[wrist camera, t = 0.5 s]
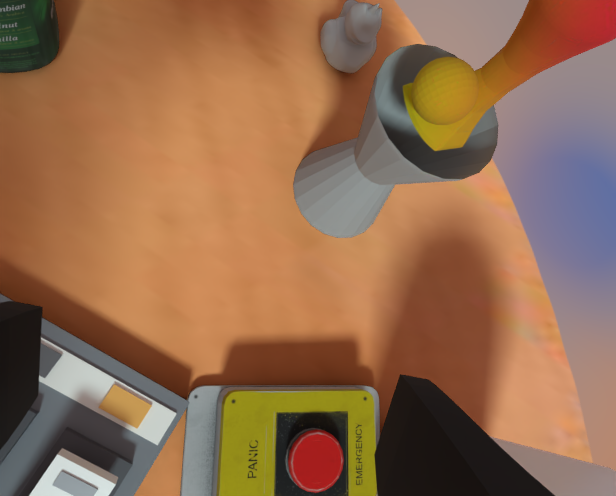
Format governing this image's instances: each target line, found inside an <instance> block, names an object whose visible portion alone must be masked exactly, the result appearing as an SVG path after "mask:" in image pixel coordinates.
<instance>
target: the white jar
mask: <svg viewBox="0 0 616 496" xmlns="http://www.w3.org/2000/svg"><path fill="white" fill-rule="evenodd" d="M491 438H492V439H493V440H494V441H495V442H496V443H497V444H498V445H499V446H500V447H501V448H502V449H503V450H504V451H505V452H507V453H508V454H509V455H510V456H511V457H512V458H513V459H514V460H515V461H516V462H517V463H519V464H520V465H521V466H522V467H523V468H524V469H525V470H526V471H527V472H529V473H530V474H531V475H532V476H533V477H534V478H535V479H537V480H538V481H539V482H540V483H541V484H542V485H543V486H545V487H546V488H547V489H548V490H549V491H550V492H552V493H553V494H554V495H555V496H616V471H614V470H612V469H611V468H608V467H604V466H600V465H596V464H593V463H589V462H585V461H581V460H577V459H574V458H570V457H566V456H562V455H558V454H554V453H551V452H547V451H543V450H539V449H535V448H532V447H528V446H524V445H520V444H516V443H513V442H509V441H505V440H501V439H497V438H494V437H491ZM376 496H378V493H377V494H376Z"/></svg>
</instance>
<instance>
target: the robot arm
mask: <svg viewBox="0 0 616 496" xmlns="http://www.w3.org/2000/svg"><path fill="white" fill-rule="evenodd" d="M41 326H42V307H40V306H35V305H30V304H24V303H19V302H14V301H7V302H1V303H0V450H1V448H2V447H3V446H4V445H5V444H6V442H7V441H8V440H9V438H10V437H11V435H12V434H13V433H14V431H15V430H16V428H17V427H18V425H19V424H20V423H21V421H22V420H23V418H24V417H25V415H26V414H27V412H28V411H29V409H30V408H31V406H32V404H33V403H34V401H35V400H36V398H37V397H38V391H39V369H40V348H41ZM374 456H375V470H376V483H377V493H378V496H555V495H554V494H553V493H552V492H550V491H549V490H548V489H547V488H546V487H545V486H543V485H542V484H541V483H540V482H539V481H538V480H537V479H535V478H534V477H533V476H532V475H531V474H530V473H529V472H527V471H526V470H525V469H524V468H523V467H522V466H521V465H520V464H519V463H517V462H516V461H515V460H514V459H513V458H512V457H511V456H510V455H509V454H508V453H507V452H505V451H504V450H503V449H502V448H501V447H500V446H499V445H498V444H497V443H496V442H495V441H494V440H493V439H492V438H491V437H490V436H489V435H487V434H486V433H485V432H484V431H483V430H482V429H481V428H480V427H479V426H478V425H477V424H476V423H475V422H474V421H473V420H472V419H471V418H470V417H469V416H468V415H467V414H466V413H465V412H464V411H463V410H462V409H461V408H460V407H459V406H457V405H456V404H455V403H454V402H453V401H452V400H451V399H450V398H449V397H448V396H447V395H446V394H445V393H444V392H443V391H442V390H440V389H439V388H438V387H437V386H436V385H435V384H433V383H432V382H431V381H430V380H427V379H422V378H417V377H411V376H406V375H401V374H400V377H399V380H398V383H397V386H396V389H395V392H394V395H393V398H392V401H391V404H390V408H389V411H388V414H387V417H386V420H385V423H384V426H383V429H382V432H381V435H380V438H379V441H378V444H377V448H376V451H375V454H374Z"/></svg>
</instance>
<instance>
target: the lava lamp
mask: <svg viewBox="0 0 616 496" xmlns="http://www.w3.org/2000/svg"><path fill="white" fill-rule="evenodd" d="M615 38H616V0H529V2H528V4H527V7H526V9H525V11H524V14H523V16H522V18H521V19H520V21H519V23H518V25H517V27H516V29H515V31H514V32H513V34H512V36H511V37H510V39H509V41H508V42H507V44H506V45H505V47H503V48H502V49H501V50H500V51H499V52H498V53H497V54H496V55H495V56H494V57H493V58H492V59H490V60H489V61H488V62H487V63H486V64H485V65H484V66H483V67H482V68H480V69H478V70H476V71H474V70H473V68H471V66H470V65H469V64H467V63H466V62H465V61H463V60H461V59H459V58H457V57H456V56H455V55H453V54H451V53H449V52H446V51H444V50H442V49H440V48H438V47H435V46H428V45H421V44H415V45H410V46H406V47H401V48H399V49H398V50H396V51H395V52H394V53H392V54H391V55H389V56H388V57H387V58H386V59H385V61H384V63H383V65H382V66H381V68H380V70H379V72H378V73H377V75H376V77H375V79H374V83H373V86H372V90H371V93H370V97H369V100H368V104H367V107H366V111H365V114H364V118H363V121H362V125H361V128H360V132H359V135H358V138H355V139H352V140H348V141H345V142H342V143H339V144H336V145H333V146H329V147H326V148H323V149H320V150H317V151H314V152H312V153H311V154H309V155H308V156H307V157H306V158H304V159H303V160H302V162H301V163H300V165H299V167H298V168H297V170H296V174H295V179H294V184H293V186H294V194H295V200H296V202H297V205H298V207H299V209H300V211H301V214H302V215H303V216H304V217H305V218H306V219H307V221H308V222H309V223H310V224H311V225H312V226H313V227H315V228H316V229H318V230H319V231H321V232H322V233H324V234H327V235H330V236H334V237H337V238H346V237H353V236H356V235H358V234H361V233H363V232H364V231H365V230H367V229H368V228H369V227H370V226H371V225H372V224H373V222H374V221H375V219H376V217H377V215H378V214H379V212H380V210H381V208H382V207H383V205H384V203H385V201H386V200H387V198H388V196H389V194H390V193H391V191H392V189H393V188H394V186H395V184H411V183H427V182H443V181H457V180H461V179H464V178H467V177H469V176H472V175H474V174H477V173H479V172H480V171H481V170H482V169H483V168H484V167H485V166H486V165H487V164H488V163H489V162H490V161H491V158H492V156H493V153H494V151H495V148H496V146H497V138H498V122H497V118H496V113H495V108H494V104H495V103H496V102H497V101H499V100H500V99H501V98H502V97H503V96H504V95H506V94H507V93H508V92H509V91H511V90H513V89H514V88H516V87H517V86H519V85H520V84H522V83H524V82H525V81H527V80H528V79H530V78H531V77H533V76H534V75H536V74H538V73H540V72H542V71H543V70H546V69H548V68H550V67H552V66H554V65H556V64H558V63H560V62H562V61H565V60H567V59H569V58H571V57H573V56H576V55H578V54H581V53H583V52H585V51H588V50H590V49H593V48H595V47H597V46H600V45H602V44H604V43H607V42H609V41H611V40H613V39H615Z"/></svg>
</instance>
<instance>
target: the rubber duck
mask: <svg viewBox="0 0 616 496" xmlns="http://www.w3.org/2000/svg"><path fill="white" fill-rule="evenodd" d="M378 7H379V4H376V5H374V6H373V5H371V4H369V3H358V2H357V1H355V0H347V1H346V2H345V3H344V5H343V8H342V11H341V13H340V15H339V17H338V18H337V19H330V20H328V21H327V22H325V24H324V25H323V28H322V30H321V34H320V36H321V48H322V51H323V53H324V54H325V57H326V60H327V62H328V63H329V64H330V65H331V66H332V67H334V68H335V69H337V70H339V71H342V72H347V73H354V72H356V71H358V70H359V69H360V68H361V67H362V66H363V65H364V64H365V63H367V62H368V61H369V60H370V59H371V58H372V56H373V54H374V53H375V51H376V47H377V43H376V35H377V33H378V31H379V29H380V27H381V15H382V8H378Z"/></svg>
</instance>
